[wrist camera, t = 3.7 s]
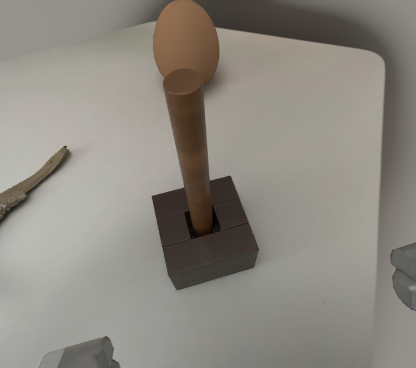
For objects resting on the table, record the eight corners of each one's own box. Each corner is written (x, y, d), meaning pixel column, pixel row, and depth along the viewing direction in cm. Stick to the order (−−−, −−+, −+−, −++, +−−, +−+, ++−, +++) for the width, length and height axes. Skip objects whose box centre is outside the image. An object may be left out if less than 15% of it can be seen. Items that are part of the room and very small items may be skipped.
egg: (183, 114, 40) (171, 33, 31) (150, 82, 44) (129, 0, 34) (232, 86, 43) (234, 2, 33) (196, 57, 46) (189, -25, 37)
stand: (254, 267, 29) (259, 249, 25) (176, 290, 28) (168, 275, 24) (229, 200, 33) (230, 175, 29) (160, 219, 32) (151, 195, 28)
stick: (217, 242, 31) (210, 80, 14) (204, 254, 30) (179, 100, 13) (205, 230, 32) (185, 62, 15) (192, 241, 31) (154, 80, 14)
